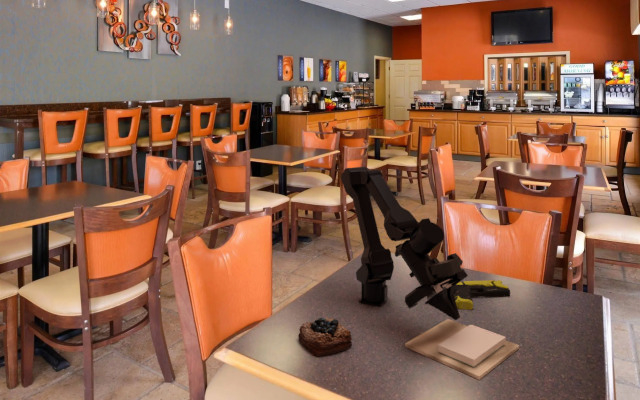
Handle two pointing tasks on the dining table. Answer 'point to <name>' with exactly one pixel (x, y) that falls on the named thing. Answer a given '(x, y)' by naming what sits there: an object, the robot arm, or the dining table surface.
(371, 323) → the dining table surface
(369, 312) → the dining table surface
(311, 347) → the pastry
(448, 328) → the board
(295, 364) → the dining table surface
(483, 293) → the stun gun
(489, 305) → the dining table surface
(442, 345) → the tile
